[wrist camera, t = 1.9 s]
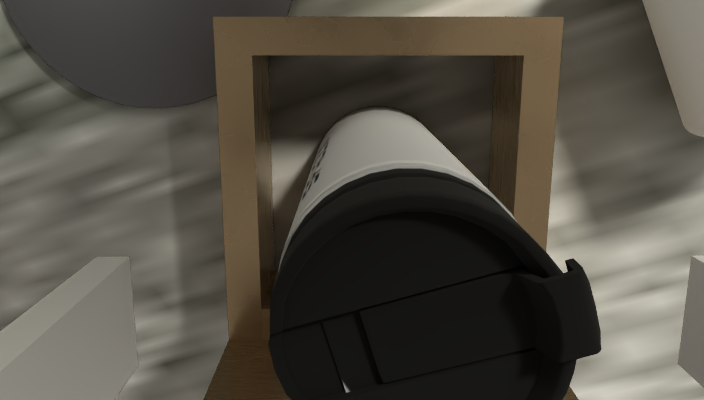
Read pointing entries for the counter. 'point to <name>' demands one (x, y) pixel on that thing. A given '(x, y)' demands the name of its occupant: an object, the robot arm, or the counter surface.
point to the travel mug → (418, 280)
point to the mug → (682, 54)
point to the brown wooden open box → (362, 39)
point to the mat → (134, 44)
